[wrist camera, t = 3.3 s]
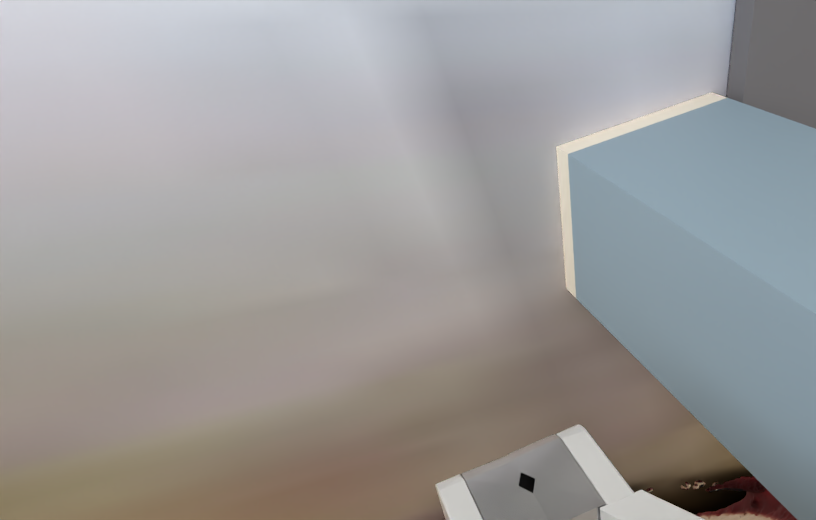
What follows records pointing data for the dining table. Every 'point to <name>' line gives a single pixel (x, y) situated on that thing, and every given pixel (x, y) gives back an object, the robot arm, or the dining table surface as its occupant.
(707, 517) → the plate with food
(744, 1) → the charcoal mat
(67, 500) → the dining table surface
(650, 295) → the slate block
